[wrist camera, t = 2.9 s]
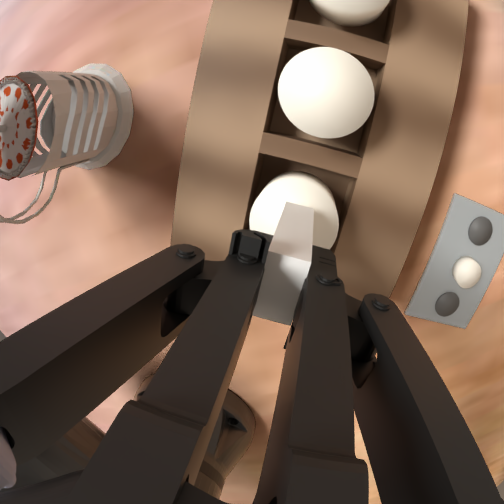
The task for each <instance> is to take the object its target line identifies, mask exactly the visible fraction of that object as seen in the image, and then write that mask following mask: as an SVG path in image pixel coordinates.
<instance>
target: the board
mask: <svg viewBox="0 0 504 504" xmlns="http://www.w3.org/2000/svg"><path fill="white" fill-rule="evenodd" d="M468 4H469V0H390V1H389V3H388V4H387V6H386V7H385V9H384V11H383V12H382V14H381V15H380V16H379V17H378V18H377V19H376V20H375V21H373V22H371V23H369V24H367V25H363V26H357V27H350V26H343V25H339V24H335V23H333V22H331V21H329V20H327V19H325V18H324V17H322V16H321V15H320V14H319V13H317V12H316V10H315V9H314V8H313V7H312V5H311V4H310V2H309V0H213V3H212V7H211V11H210V15H209V19H208V23H207V27H206V31H205V36H204V40H203V44H202V49H201V53H200V58H199V62H198V67H197V72H196V77H195V82H194V87H193V92H192V97H191V103H190V108H189V114H188V119H187V125H186V131H185V137H184V144H183V150H182V157H181V163H180V170H179V177H178V185H177V193H176V200H175V209H174V217H173V226H172V236H171V246H173V245H177V244H190V245H192V246H196V247H198V248H200V249H202V250H203V252H204V253H205V260H210V261H224V260H225V259H226V257H227V256H228V254H229V248H230V243H231V238H232V233H233V232H234V231H235V230H240V229H248V230H250V225H249V218H250V212H251V209H252V206H253V204H254V202H255V200H256V199H257V197H258V196H259V195H260V193H261V192H262V190H263V189H264V188H265V186H266V185H267V184H268V183H269V182H270V181H271V180H272V179H273V178H275V177H276V176H278V175H280V174H282V173H285V172H290V171H303V172H307V173H310V174H313V175H315V176H317V177H318V178H320V179H321V180H322V181H323V182H324V183H325V184H326V185H327V186H328V187H329V189H330V190H331V192H332V194H333V197H334V200H335V205H336V209H337V214H338V220H339V228H338V234H337V237H336V240H335V242H334V244H333V246H332V247H331V248H330V250H331V251H332V252H333V253H334V255H335V257H336V267H337V277H339V278H340V279H341V280H342V281H343V283H344V287H345V293H347V294H348V295H350V296H352V297H353V298H356V299H358V300H360V301H362V300H363V298H364V296H365V295H366V294H369V293H375V294H381V295H384V296H386V297H388V299H389V297H390V295H391V293H392V291H393V289H394V286H395V284H396V282H397V280H398V277H399V275H400V273H401V270H402V268H403V265H404V263H405V261H406V258H407V256H408V253H409V251H410V248H411V246H412V243H413V241H414V238H415V235H416V233H417V230H418V227H419V225H420V222H421V219H422V216H423V213H424V210H425V208H426V205H427V202H428V199H429V196H430V193H431V190H432V186H433V183H434V180H435V177H436V174H437V170H438V167H439V163H440V160H441V156H442V153H443V149H444V145H445V142H446V138H447V134H448V130H449V126H450V121H451V117H452V113H453V108H454V103H455V99H456V94H457V89H458V83H459V78H460V72H461V66H462V59H463V52H464V45H465V37H466V28H467V17H468ZM316 47H331V48H336V49H339V50H342V51H344V52H347V53H349V54H350V55H352V56H353V57H355V58H356V59H357V60H358V61H359V62H360V63H361V64H362V65H363V66H364V67H365V69H366V70H367V72H368V73H369V75H370V77H371V80H372V83H373V87H374V104H373V108H372V111H371V113H370V115H369V117H368V119H367V120H366V121H365V123H364V124H363V125H362V126H361V127H360V128H358V129H357V130H356V131H354V132H353V133H351V134H348V135H346V136H343V137H339V138H320V137H315V136H312V135H309V134H307V133H305V132H303V131H302V130H300V129H299V128H297V127H296V126H295V125H294V124H293V123H292V122H291V121H290V120H289V119H288V118H287V116H286V115H285V113H284V111H283V109H282V107H281V105H280V101H279V96H278V83H279V79H280V75H281V73H282V71H283V69H284V67H285V66H286V64H287V63H288V62H289V61H290V60H291V59H292V58H293V57H294V56H296V55H297V54H299V53H301V52H303V51H305V50H308V49H311V48H316Z"/></svg>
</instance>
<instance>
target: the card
mask: <svg viewBox="0 0 504 504" xmlns="http://www.w3.org/2000/svg"><path fill="white" fill-rule="evenodd" d="M503 254H504V215H503V214H501V213H499V212H497V211H495V210H493V209H490V208H488V207H486V206H484V205H481V204H479V203H477V202H475V201H472V200H470V199H468V198H465V197H463V196H461V195H458V194H456V193H454V194H453V197H452V200H451V203H450V206H449V209H448V212H447V215H446V217H445V220H444V223H443V226H442V228H441V231H440V233H439V236H438V239H437V241H436V244H435V246H434V249H433V251H432V253H431V256H430V258H429V261H428V263H427V265H426V268H425V270H424V272H423V274H422V277H421V279H420V281H419V283H418V285H417V288H416V290H415V292H414V294H413V296H412V298H411V300H410V302H409V304H408V306H407V308H406V310H405V312H404V313H405V315H409V316H413V317H417V318H422V319H426V320H430V321H434V322H438V323H442V324H447V325H451V326H455V327H459V328H464V329H465V328H466V327H467V325H468V323H469V322H470V320H471V318H472V316H473V314H474V313H475V311H476V309H477V307H478V305H479V303H480V302H481V300H482V298H483V296H484V294H485V292H486V290H487V288H488V286H489V284H490V282H491V280H492V278H493V276H494V274H495V271H496V269H497V267H498V265H499V263H500V260H501V258H502V256H503Z"/></svg>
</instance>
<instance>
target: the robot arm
mask: <svg viewBox="0 0 504 504" xmlns="http://www.w3.org/2000/svg"><path fill="white" fill-rule="evenodd" d="M313 220H314V209H313V208H310V207H306V206H302V205H298V204H295V203H291V202H287V201H286V203H285V206H284V209H283V211H282V214H281V217H280V220H279V222H278V225H277V228H276V230H275V233H274V235H270V234H266V233H263V232H259V231H255V230H248V229H240V230H235V231H234V232H233V233H232V238H231V243H230V248H229V254H228V256H227V257H226V259H225V260H224V261H210V260H205V253H204V252H203V250H202V249H200V248H198V247H196V246H192V245H190V244H177V245H173V246H170V247H168V248H166V249H165V250H163V251H161V252H159V253H157V254H155V255H153V256H151V257H149V258H147V259H145V260H144V261H142V262H140V263H138V264H136V265H134V266H132V267H130V268H129V269H127V270H125V271H123V272H121V273H119V274H117V275H116V276H114V277H112V278H110V279H108V280H106V281H105V282H103V283H101V284H99V285H97V286H95V287H94V288H92V289H90V290H88V291H86V292H85V293H83V294H81V295H79V296H78V297H76V298H74V299H72V300H70V301H69V302H67V303H65V304H63V305H62V306H60V307H58V308H56V309H55V310H53V311H51V312H49V313H48V314H46V315H44V316H43V317H41V318H39V319H37V320H36V321H34V322H32V323H31V324H29V325H27V326H26V327H24V328H22V329H20V330H19V331H17V332H15V333H14V334H12V335H10V336H9V337H7V338H6V339H4V340H2V341H1V342H0V504H229V503H225V502H223V501H221V500H219V499H220V495H221V491H222V488H223V485H224V482H225V479H226V477H227V476H228V475H229V473H230V472H231V471H232V469H233V468H234V467H235V465H236V464H237V463H238V461H239V460H240V459H241V457H242V456H243V455H244V453H245V452H246V451H247V449H248V448H249V446H250V444H251V442H252V439H253V435H254V431H255V419H254V416H253V414H252V412H251V410H250V409H249V407H248V406H247V405H246V404H245V403H244V402H243V401H242V400H241V399H240V398H239V397H238V396H236V395H235V394H234V393H232V392H231V391H229V390H228V387H229V384H230V381H231V378H232V376H233V373H234V370H235V367H236V364H237V361H238V358H239V355H240V352H241V349H242V346H243V343H244V340H245V337H246V334H247V331H248V328H249V325H250V322H251V318H252V315H253V316H256V317H260V318H264V319H267V320H271V321H275V322H278V323H282V324H286V325H290V326H291V328H290V331H289V334H288V337H287V339H286V342H285V345H284V349H286V352H285V358H284V363H283V369H282V374H281V380H280V385H279V390H278V396H277V401H276V406H275V411H274V416H273V421H272V426H271V431H270V435H269V440H268V445H267V450H266V454H265V459H264V463H263V468H262V472H261V477H260V481H259V485H258V489H257V493H256V496H255V499H254V501H253V504H368V497H369V482H368V468H367V464H366V462H365V461H364V460H362V459H357V458H356V456H355V445H354V411H355V414H356V417H357V421H358V424H359V427H360V430H361V434H362V437H363V440H364V443H365V447H366V450H367V454H368V457H369V460H370V464H371V467H372V471H373V474H374V478H375V481H376V485H377V488H378V492H379V496H380V499H381V503H382V504H504V501H503V499H502V498H501V497H500V494H499V492H498V490H497V487H496V485H495V483H494V480H493V478H492V476H491V474H490V471H489V469H488V467H487V465H486V463H485V461H484V458H483V456H482V454H481V452H480V450H479V448H478V446H477V444H476V442H475V440H474V438H473V436H472V434H471V432H470V430H469V428H468V426H467V424H466V422H465V420H464V418H463V416H462V415H461V413H460V411H459V409H458V407H457V405H456V403H455V402H454V400H453V398H452V396H451V394H450V392H449V391H448V389H447V387H446V385H445V384H444V382H443V380H442V378H441V377H440V375H439V373H438V371H437V370H436V368H435V366H434V365H433V363H432V361H431V360H430V358H429V356H428V355H427V353H426V351H425V350H424V348H423V346H422V345H421V343H420V342H419V340H418V338H417V337H416V335H415V334H414V332H413V330H412V329H411V327H410V326H409V324H408V323H407V321H406V319H405V318H404V316H403V315H402V313H401V312H400V310H399V309H398V307H397V306H396V305H395V303H394V302H393V301H391V300H390V299H388V297H386V296H384V295H381V294H375V293H369V294H366V295H365V296H364V298H363V300H362V301H360V300H358V299H356V298H353V297H352V296H350V295H348V294H347V293H345V287H344V283H343V281H342V280H341V279H340V278H339V277H337V267H336V257H335V255H334V253H333V252H332V251H331V250H329V249H326V248H322V247H318V246H315V245H312V242H313ZM292 320H293V322H292ZM291 323H292V325H291ZM177 336H178V337H177ZM176 337H177V338H176ZM175 338H176V340H175V342H174V343H173V345H172V347H171V348H170V350H169V352H168V353H167V355H166V356H165V358H164V360H163V361H162V363H161V365H160V366H159V368H158V370H157V371H156V373H155V374H153V375H151V376H149V377H148V378H146V379H145V380H144V381H143V383H142V384H141V386H140V388H139V389H138V391H137V392H136V394H135V397H134V400H130V401H128V402H127V403H126V404H125V405H124V406H123V408H122V409H121V410H120V412H119V413H118V415H117V417H116V418H115V420H114V421H113V423H112V425H111V426H110V428H109V430H108V431H107V433H104V432H103V431H102V430H101V429H100V428H98V427H97V426H96V425H95V424H93V423H92V422H91V421H90V420H89V419H88V418H86V416H87V415H88V414H89V413H90V412H91V411H93V410H94V409H95V408H96V407H97V406H98V405H100V404H101V403H102V402H103V401H104V400H105V399H106V398H108V397H109V396H110V395H111V394H112V393H113V392H115V391H116V390H117V389H118V388H119V387H120V386H121V385H123V384H124V383H125V382H126V381H127V380H128V379H130V378H131V377H132V376H133V375H134V374H135V373H136V372H138V371H139V370H140V369H141V368H142V367H143V366H144V365H146V364H147V363H148V362H149V361H150V360H151V359H152V358H154V357H155V356H156V355H157V354H158V353H159V352H160V351H161V350H163V349H164V348H165V347H166V346H167V345H168V344H169V343H171V342H172V341H173V340H174V339H175ZM376 353H377V359H376V357H375V355H376Z"/></svg>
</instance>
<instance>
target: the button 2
mask: <svg viewBox="0 0 504 504" xmlns="http://www.w3.org/2000/svg"><path fill="white" fill-rule="evenodd" d="M278 96H279V101H280V105H281V107H282V109H283V111H284V113H285V115H286V116H287V118H288V119H289V120H290V121H291V122H292V123H293V124H294V125H295V126H296V127H297V128H299V129H300V130H302V131H303V132H305V133H307V134H309V135H312V136H315V137H320V138H339V137H343V136H346V135H348V134H351V133H353V132H354V131H356V130H357V129H358V128H360V127H361V126H362V125H363V124H364V123H365V121H366V120H367V119H368V117H369V115H370V113H371V111H372V108H373V104H374V87H373V83H372V80H371V77H370V75H369V73H368V72H367V70H366V69H365V67H364V66H363V65H362V64H361V63H360V62H359V61H358V60H357V59H356V58H355V57H353V56H352V55H350V54H349V53H347V52H344V51H342V50H339V49H336V48H331V47H316V48H311V49H308V50H305V51H303V52H301V53H299V54H297V55H296V56H294V57H293V58H292V59H291V60H290V61H289V62H288V63H287V64H286V66H285V67H284V69H283V71H282V73H281V75H280V79H279V83H278Z"/></svg>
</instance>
